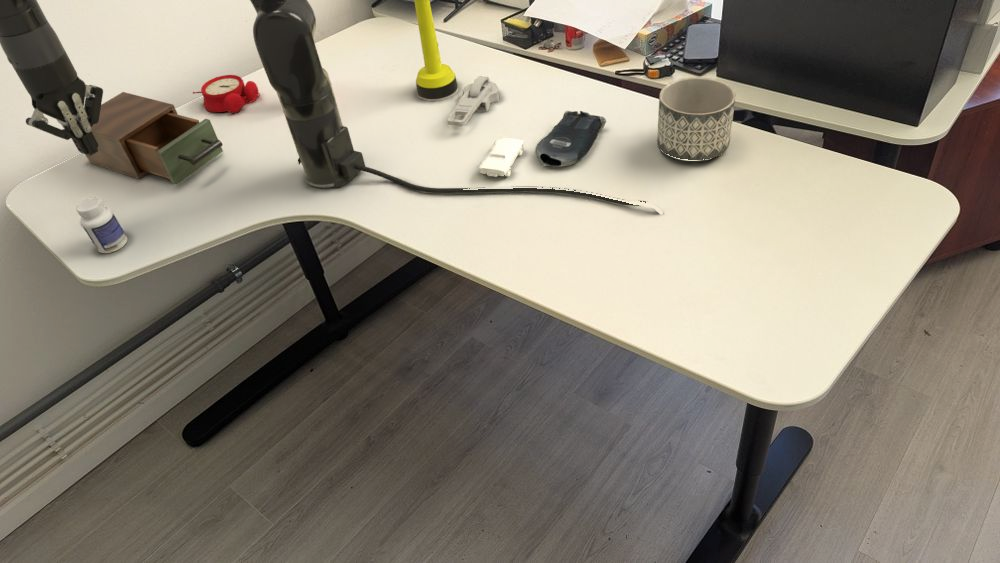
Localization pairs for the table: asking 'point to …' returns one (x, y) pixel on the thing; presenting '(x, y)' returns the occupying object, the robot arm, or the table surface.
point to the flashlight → (432, 60)
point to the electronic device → (569, 139)
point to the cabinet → (124, 130)
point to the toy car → (501, 157)
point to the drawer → (174, 146)
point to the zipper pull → (474, 100)
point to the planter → (695, 118)
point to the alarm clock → (228, 93)
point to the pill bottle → (101, 225)
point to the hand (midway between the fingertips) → (91, 152)
